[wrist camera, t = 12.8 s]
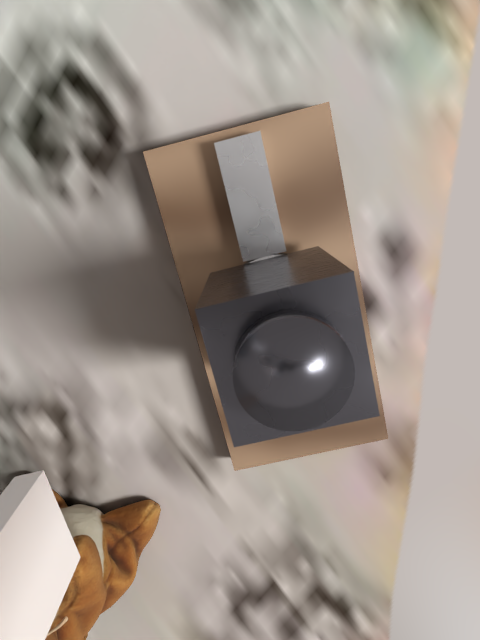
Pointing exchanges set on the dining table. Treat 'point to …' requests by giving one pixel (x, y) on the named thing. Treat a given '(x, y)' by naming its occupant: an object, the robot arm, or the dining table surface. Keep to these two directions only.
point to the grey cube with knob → (287, 346)
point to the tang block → (260, 232)
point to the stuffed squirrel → (101, 561)
